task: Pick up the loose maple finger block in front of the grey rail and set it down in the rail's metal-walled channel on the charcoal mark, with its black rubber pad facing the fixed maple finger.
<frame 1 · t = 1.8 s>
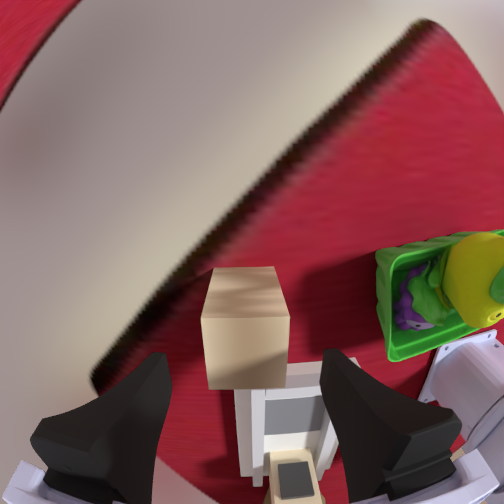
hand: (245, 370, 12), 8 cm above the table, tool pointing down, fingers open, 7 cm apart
fruit basket: (421, 263, 20), on the table
squeeze bottle: (290, 484, 28), on the table
rail: (290, 424, 24), on the table
maple finger: (244, 297, 20), on the table
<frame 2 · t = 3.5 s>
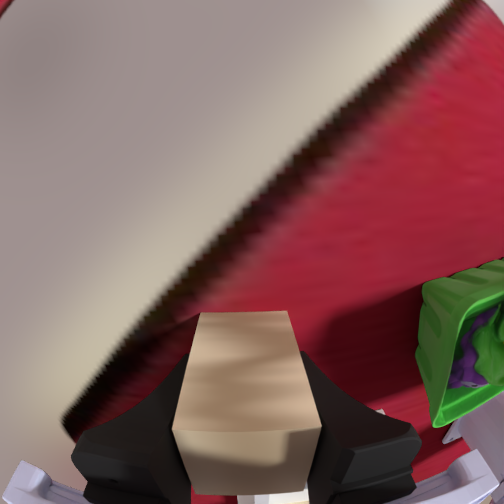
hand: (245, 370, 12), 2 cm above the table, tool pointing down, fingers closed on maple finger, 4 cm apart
fruit basket: (470, 293, 14), on the table
rail: (298, 477, 18), on the table
maple finger: (244, 350, 14), on the table, touching gripper
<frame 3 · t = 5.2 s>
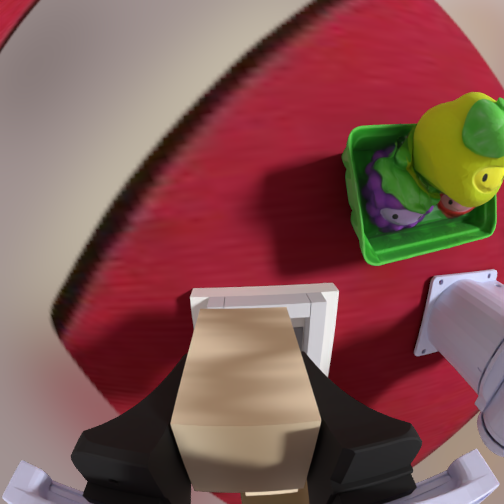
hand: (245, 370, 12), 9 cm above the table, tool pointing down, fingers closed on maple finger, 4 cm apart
fruit basket: (397, 173, 19), on the table
squeeze bottle: (274, 459, 27), on the table
rail: (264, 373, 23), on the table
maple finger: (244, 347, 14), point 7 cm above the table, touching gripper
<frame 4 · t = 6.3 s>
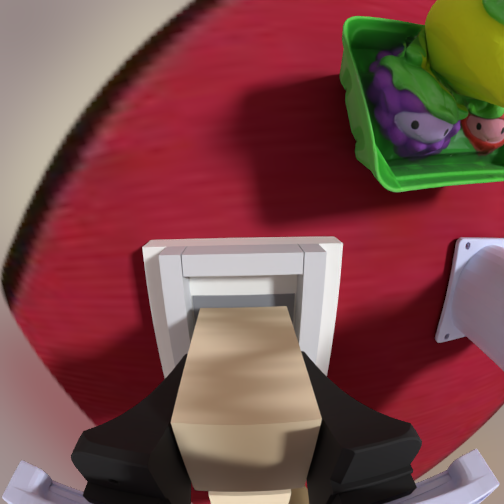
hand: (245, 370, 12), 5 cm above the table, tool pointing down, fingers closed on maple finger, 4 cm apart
fruit basket: (409, 106, 14), on the table
squeeze bottle: (261, 469, 22), on the table
rail: (245, 361, 18), on the table
maple finger: (244, 346, 14), point 3 cm above the table, touching gripper
when the fingers open (5 cm above the table, at t = 7.1 s): maple finger drops 1 cm, resting on rail.
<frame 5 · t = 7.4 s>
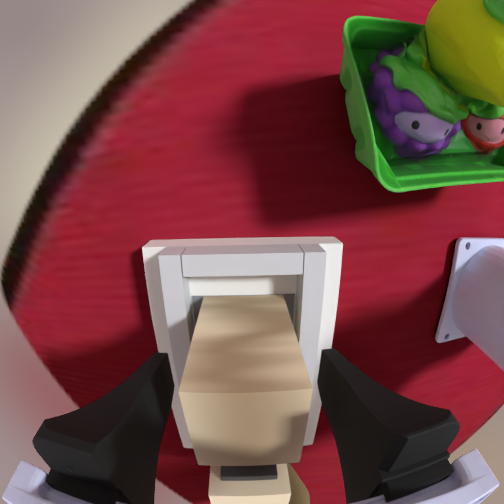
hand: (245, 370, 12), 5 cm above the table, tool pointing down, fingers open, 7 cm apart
fruit basket: (409, 106, 14), on the table
squeeze bottle: (261, 469, 22), on the table
rail: (245, 361, 18), on the table
maple finger: (244, 332, 15), point 2 cm above the table, touching rail
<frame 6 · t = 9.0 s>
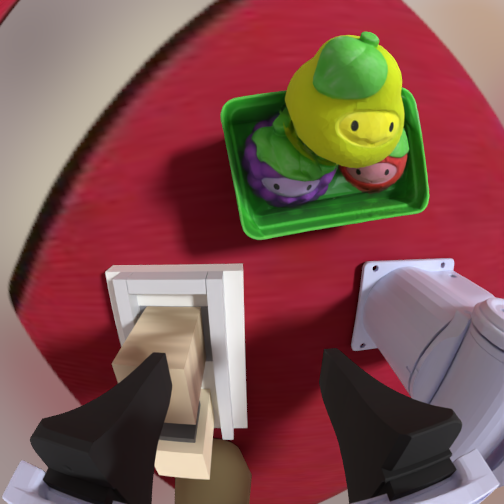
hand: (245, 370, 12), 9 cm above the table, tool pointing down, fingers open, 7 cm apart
fruit basket: (313, 150, 19), on the table
squeeze bottle: (214, 449, 27), on the table
rail: (185, 355, 23), on the table
maple finger: (177, 333, 20), point 2 cm above the table, touching rail
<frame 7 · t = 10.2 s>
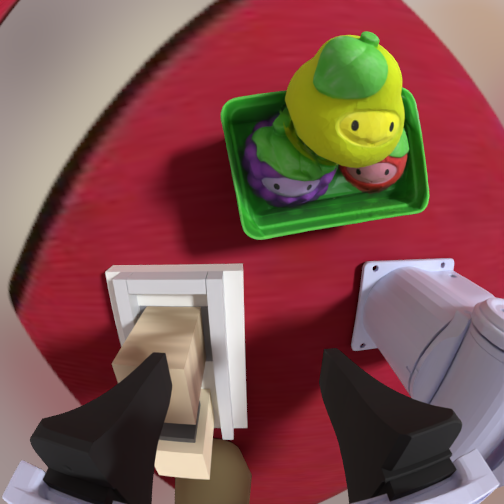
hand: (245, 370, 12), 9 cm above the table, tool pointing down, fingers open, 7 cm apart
fruit basket: (313, 150, 19), on the table
squeeze bottle: (214, 449, 27), on the table
rail: (185, 355, 23), on the table
maple finger: (177, 333, 20), point 2 cm above the table, touching rail
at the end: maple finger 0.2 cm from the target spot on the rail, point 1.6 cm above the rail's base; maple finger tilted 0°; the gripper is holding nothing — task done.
